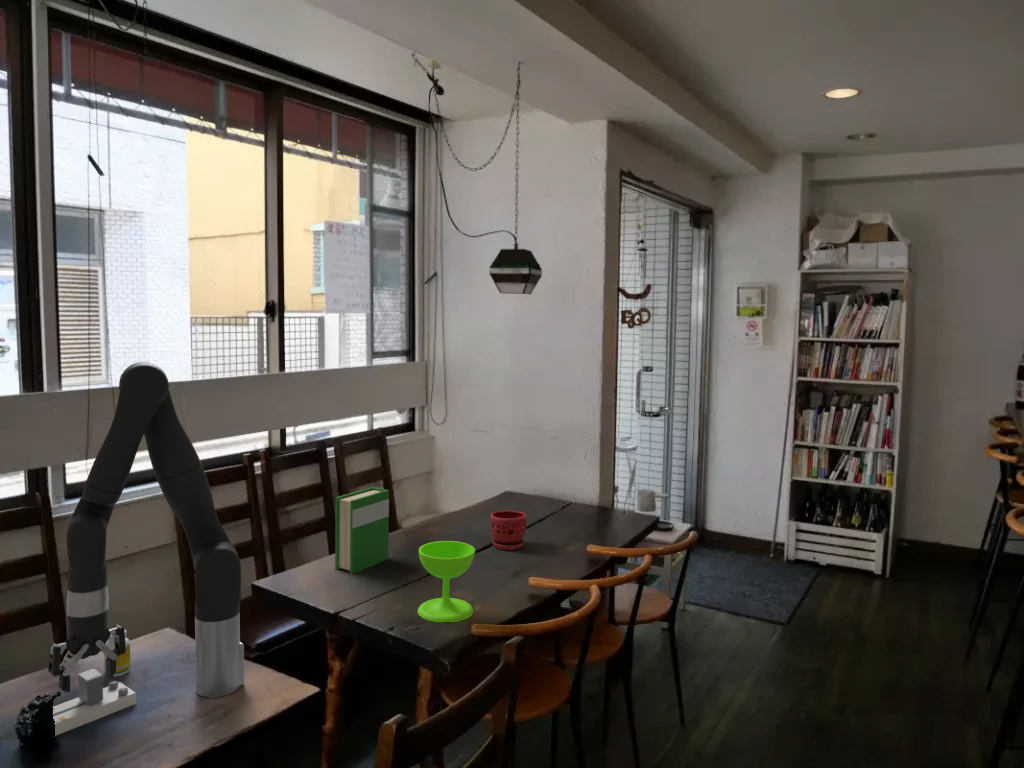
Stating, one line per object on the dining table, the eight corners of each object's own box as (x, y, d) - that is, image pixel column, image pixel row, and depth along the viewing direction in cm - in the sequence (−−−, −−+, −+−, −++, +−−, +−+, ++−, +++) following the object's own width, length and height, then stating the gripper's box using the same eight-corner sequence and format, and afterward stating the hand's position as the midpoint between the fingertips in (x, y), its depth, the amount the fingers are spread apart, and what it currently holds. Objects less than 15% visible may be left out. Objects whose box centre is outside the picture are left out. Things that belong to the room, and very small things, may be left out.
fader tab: (94, 693, 159) (93, 668, 158) (103, 700, 156) (102, 674, 156) (79, 699, 156) (78, 673, 156) (87, 705, 154) (87, 680, 153)
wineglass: (484, 608, 217) (486, 547, 215) (452, 627, 203) (453, 563, 201) (439, 596, 225) (440, 537, 223) (405, 613, 211) (406, 551, 209)
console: (120, 692, 165) (119, 677, 164) (135, 703, 160) (135, 688, 160) (39, 723, 152) (39, 707, 152) (54, 736, 148) (53, 719, 148)
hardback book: (352, 574, 241) (352, 501, 238) (335, 569, 245) (335, 497, 242) (388, 559, 256) (389, 490, 253) (371, 554, 260) (372, 487, 257)
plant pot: (532, 544, 276) (533, 513, 274) (513, 554, 265) (514, 521, 263) (502, 538, 283) (503, 507, 281) (482, 547, 271) (483, 514, 270)
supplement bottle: (101, 671, 174) (99, 631, 173) (125, 664, 178) (124, 625, 177) (109, 679, 170) (108, 639, 169) (134, 672, 174) (133, 632, 173)
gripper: (114, 594, 162) (115, 666, 164) (42, 613, 151) (42, 690, 152) (131, 603, 158) (131, 677, 159) (57, 623, 146) (58, 703, 148)
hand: (88, 683), depth 156 cm, fingers open, 8 cm apart
